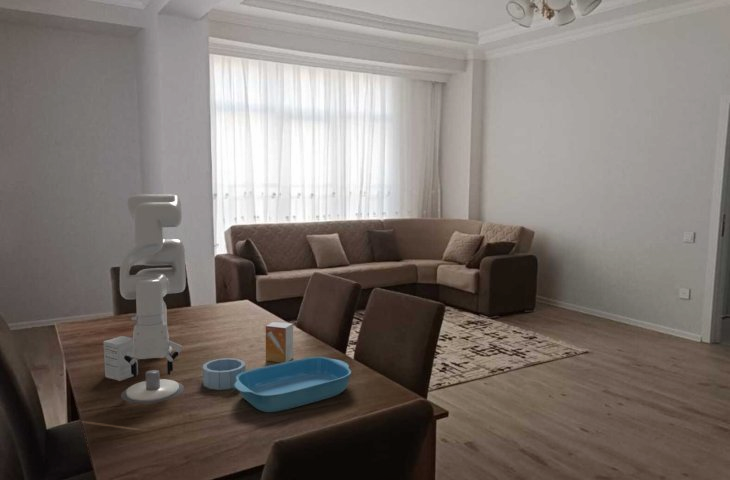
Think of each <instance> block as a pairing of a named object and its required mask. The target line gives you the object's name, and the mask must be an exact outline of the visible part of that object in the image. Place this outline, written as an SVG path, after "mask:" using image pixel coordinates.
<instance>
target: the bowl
mask: <svg viewBox="0 0 730 480" xmlns="http://www.w3.org/2000/svg"><path fill="white" fill-rule="evenodd" d="M245 371H246V361H244V360H242V359H240V358H232V357H231V358H230V357H229V358H228V357H224V358H217V359H212V360H209V361H207V362H205V363H203V364H202V383H203V384H202V385H203V387H205V388H207V389H210V390H216V391H217V390H218V391H219V390H220V391H221V390H231V389H232V390H237V389H236V388H235V387H234V384H235V383H236V376H237V375H238V374H240V373H242V372H245Z"/></svg>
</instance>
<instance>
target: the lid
mask: <svg viewBox="0 0 730 480" xmlns="http://www.w3.org/2000/svg"><path fill="white" fill-rule="evenodd" d="M144 374H145V376H144V377H145V380H144V381H141V382H136V383H134V384H132V385H131V386H129V387H128V389H127V388H126V389H127V391H126V395H127V397H128V398H129V399H131V400H135V401H154V400H160V399H164V398H167V397H170V396H172V395H174V394H175V393H177V392H178V390H179V384H178V383H179V382H178V381H176V380H173V379H165V378H163V379H162V378H160V377H161V376H160V370H158V369H151V370H148V371H146V372H145V373H144ZM177 382H178V383H177Z"/></svg>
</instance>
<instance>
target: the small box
mask: <svg viewBox="0 0 730 480" xmlns="http://www.w3.org/2000/svg"><path fill="white" fill-rule="evenodd" d="M293 358H294V323H289V322H279V321H278V322H277V321H272V322H270V323H268V324H267V325H265V361H268V362H274V363H284V362H289V361H292V359H293Z"/></svg>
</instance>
